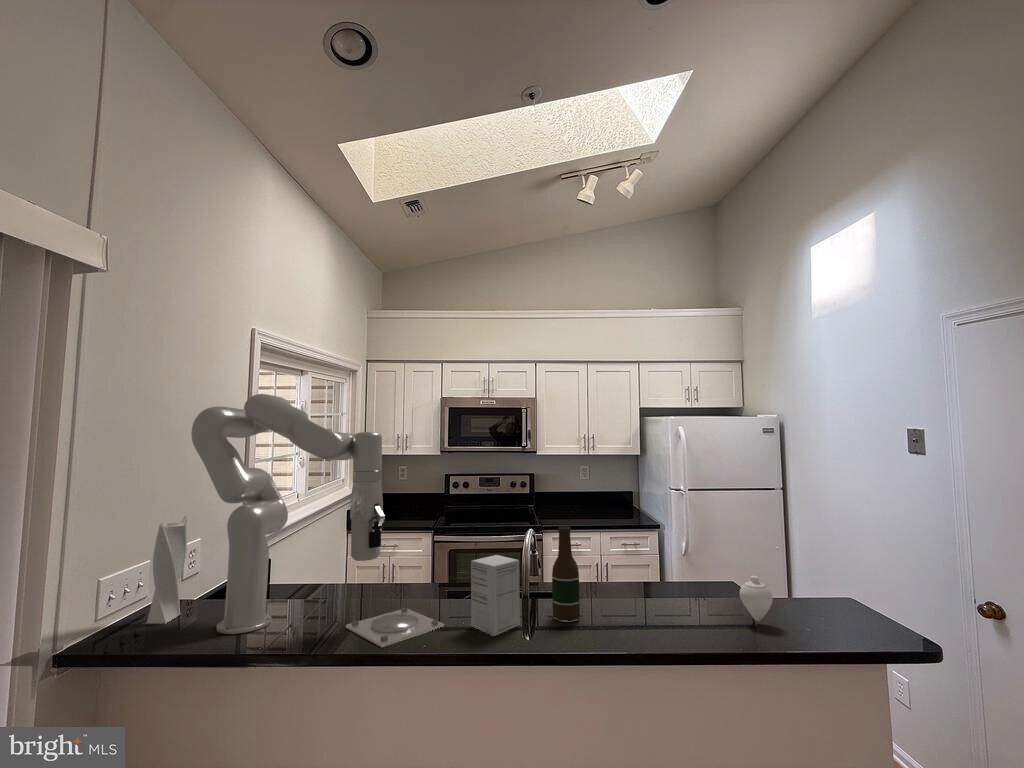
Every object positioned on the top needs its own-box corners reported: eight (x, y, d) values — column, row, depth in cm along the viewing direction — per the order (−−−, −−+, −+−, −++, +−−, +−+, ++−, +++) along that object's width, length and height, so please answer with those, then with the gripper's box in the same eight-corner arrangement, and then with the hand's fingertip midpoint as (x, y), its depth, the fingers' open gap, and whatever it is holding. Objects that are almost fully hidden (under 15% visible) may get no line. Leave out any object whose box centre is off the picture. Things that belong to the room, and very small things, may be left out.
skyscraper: (190, 616, 132) (198, 514, 136) (168, 626, 124) (178, 518, 128) (160, 616, 132) (170, 514, 136) (137, 626, 124) (148, 518, 128)
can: (371, 561, 119) (371, 513, 120) (345, 561, 120) (345, 513, 122) (385, 555, 126) (385, 509, 128) (360, 555, 127) (360, 510, 129)
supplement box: (497, 618, 127) (496, 554, 129) (521, 627, 120) (520, 559, 123) (469, 628, 120) (470, 559, 123) (493, 637, 114) (493, 565, 116)
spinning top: (768, 633, 115) (764, 582, 117) (736, 624, 121) (733, 576, 123) (779, 625, 120) (775, 576, 122) (749, 617, 126) (745, 571, 128)
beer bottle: (585, 616, 128) (582, 526, 131) (573, 625, 121) (571, 530, 125) (560, 611, 132) (558, 524, 136) (547, 620, 125) (545, 527, 129)
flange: (345, 627, 121) (346, 621, 121) (406, 611, 134) (406, 605, 134) (381, 647, 108) (381, 640, 109) (443, 627, 121) (444, 620, 121)
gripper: (339, 478, 130) (338, 544, 127) (370, 479, 118) (370, 551, 115) (365, 476, 135) (364, 540, 132) (396, 477, 123) (397, 546, 120)
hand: (367, 545), depth 124 cm, fingers closed on can, 7 cm apart
